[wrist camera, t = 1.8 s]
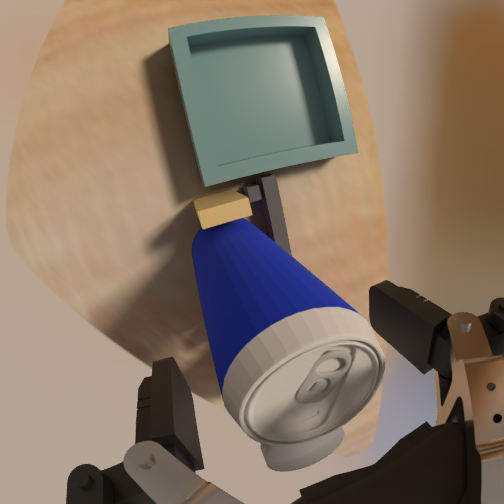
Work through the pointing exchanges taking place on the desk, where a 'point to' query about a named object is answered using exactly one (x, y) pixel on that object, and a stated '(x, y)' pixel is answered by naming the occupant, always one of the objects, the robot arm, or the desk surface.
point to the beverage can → (281, 338)
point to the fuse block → (246, 208)
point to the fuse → (301, 452)
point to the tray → (260, 94)
